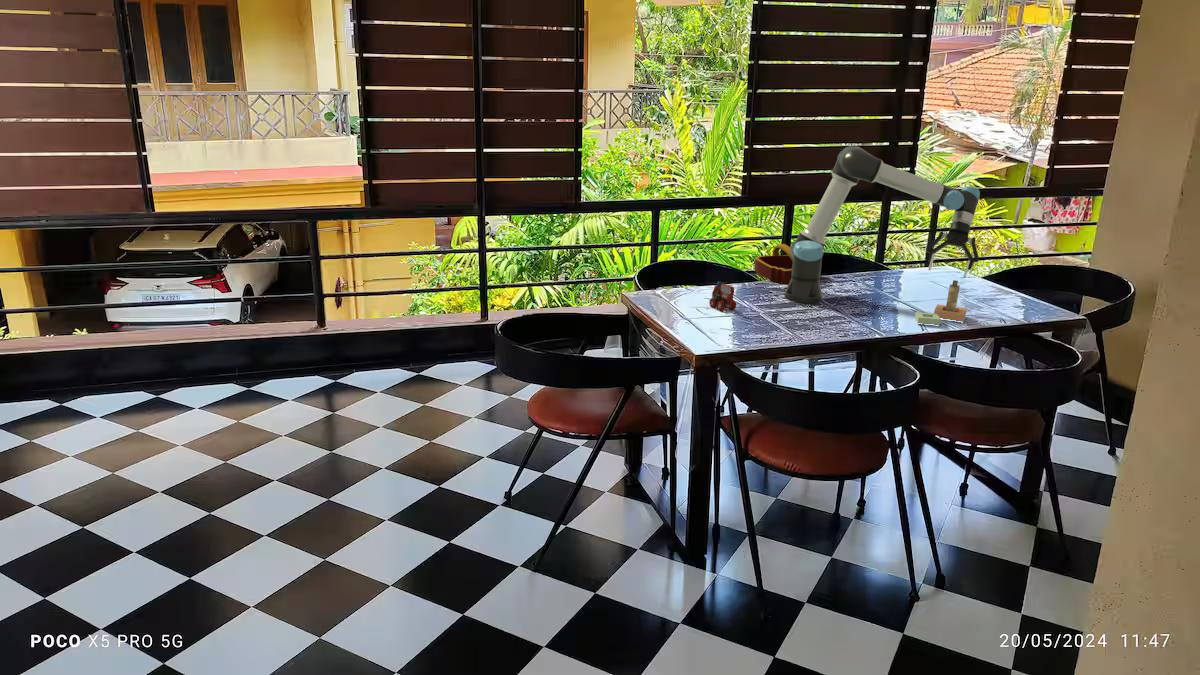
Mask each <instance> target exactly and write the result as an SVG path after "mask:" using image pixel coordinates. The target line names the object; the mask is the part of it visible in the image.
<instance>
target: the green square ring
mask: <svg viewBox="0 0 1200 675" xmlns="http://www.w3.org/2000/svg"><path fill="white" fill-rule="evenodd" d="M914 319H916V321H917V323H923V324H934V325H941V321H942V320H941V319H940V317H939V316H938V314H934V312H933V313H932V312H931V313H930V312H921V311H915V313H914ZM916 321H915V322H916ZM917 323H916V324H917Z"/></svg>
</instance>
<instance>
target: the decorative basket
mask: <svg viewBox="0 0 1200 675" xmlns="http://www.w3.org/2000/svg"><path fill="white" fill-rule="evenodd" d="M790 248H791V246H789V245H787V244H786V243H780V244H778V245H777V244H776V245H775V246H773V249H772V254H771V255H760V256H757V257H754V272H755V273H757V274H758V275H760V276H761V277H763V278H764V279H765V280H768V281H770V282H775V283H777V282H778V283H780V282H782V283H781V284H783V283H784V284H783V285H789V282H790V280H791V274H792V264H793V261H792V259H791V256H790ZM780 250H782V251H783V252H785V254H784V255H781V254H780ZM779 254H780V255H779Z"/></svg>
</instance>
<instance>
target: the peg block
mask: <svg viewBox="0 0 1200 675" xmlns="http://www.w3.org/2000/svg"><path fill="white" fill-rule="evenodd" d="M958 283H959V281H958V280H954V279H953V280H952V283H951V284H950V285H949V288H948V292H947V300H946V310H945V311H952V312H955V311H956V307H958V306H957V304H958V299H959V293H960V285H959V284H958Z"/></svg>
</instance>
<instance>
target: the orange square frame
mask: <svg viewBox="0 0 1200 675" xmlns="http://www.w3.org/2000/svg"><path fill="white" fill-rule="evenodd" d="M945 310H946V305H945V304H936V306H935V308H934V311H933V313H934V314H938V316H939V317H940V318H943V319H950V320H956V321H964V322H965V320H964V318H965V319H966V316H965V315H966V314H967V310H968V308H965V307H960V306H956V311H955V312H952V311H945Z"/></svg>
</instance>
